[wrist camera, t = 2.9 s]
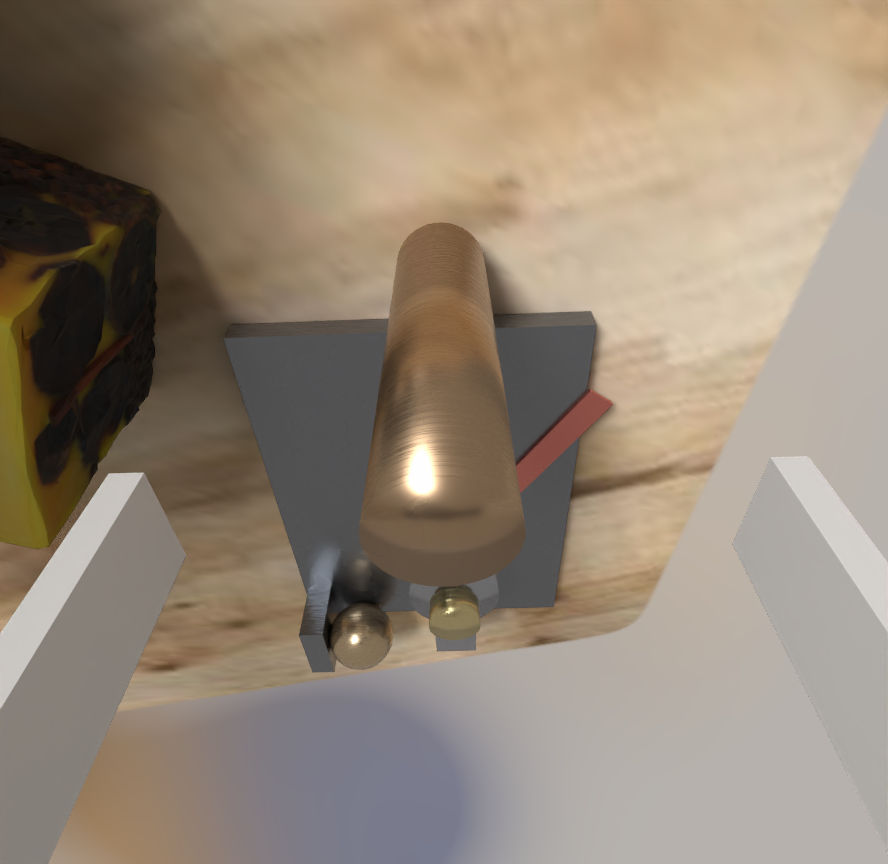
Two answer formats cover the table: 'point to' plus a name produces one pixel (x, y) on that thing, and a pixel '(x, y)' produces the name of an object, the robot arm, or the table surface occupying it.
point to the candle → (67, 331)
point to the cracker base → (347, 455)
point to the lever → (442, 432)
